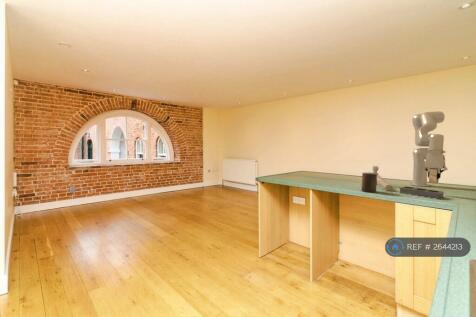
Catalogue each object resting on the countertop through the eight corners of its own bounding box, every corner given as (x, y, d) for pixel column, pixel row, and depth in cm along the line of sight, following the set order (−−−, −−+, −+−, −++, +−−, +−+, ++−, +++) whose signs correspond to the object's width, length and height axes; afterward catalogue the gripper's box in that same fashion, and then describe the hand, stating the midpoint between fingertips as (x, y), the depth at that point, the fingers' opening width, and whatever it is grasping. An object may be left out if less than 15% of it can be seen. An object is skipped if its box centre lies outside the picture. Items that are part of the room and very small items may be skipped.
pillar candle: (367, 192, 167) (369, 172, 166) (358, 190, 177) (359, 170, 176) (379, 192, 169) (380, 172, 168) (369, 189, 179) (370, 170, 178)
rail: (405, 191, 172) (405, 186, 172) (443, 197, 153) (443, 191, 153) (399, 192, 167) (399, 187, 167) (438, 199, 148) (438, 193, 148)
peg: (431, 182, 165) (432, 168, 164) (438, 182, 161) (439, 168, 160) (428, 182, 162) (429, 168, 161) (436, 183, 159) (436, 169, 158)
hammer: (393, 178, 171) (377, 165, 199) (386, 178, 172) (371, 165, 200) (390, 198, 175) (375, 182, 204) (383, 197, 176) (369, 182, 204)
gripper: (453, 152, 155) (451, 179, 156) (423, 151, 169) (421, 176, 171) (449, 153, 151) (447, 180, 152) (418, 152, 165) (417, 177, 167)
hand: (433, 178), depth 161 cm, fingers closed on peg, 4 cm apart
